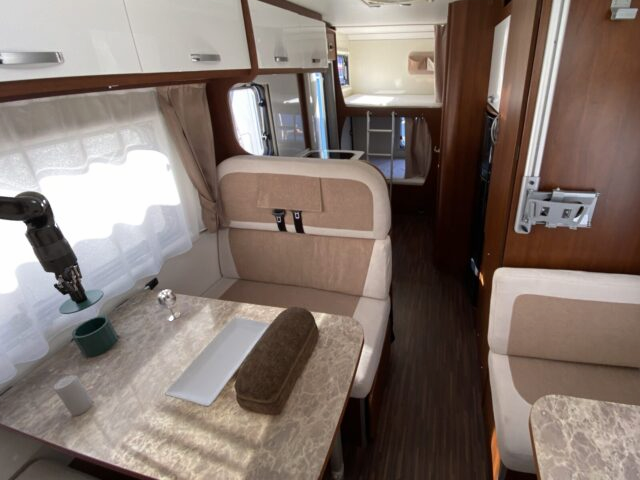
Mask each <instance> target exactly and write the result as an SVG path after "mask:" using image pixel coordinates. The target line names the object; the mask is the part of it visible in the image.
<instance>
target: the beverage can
mask: <svg viewBox="0 0 640 480" xmlns="http://www.w3.org/2000/svg"><path fill="white" fill-rule="evenodd" d="M53 385H54V386H53V389H54V392H55V394H56V395H57V396H58V397H59V399H60V400H61V401H62V403H63V404H64V406H65V407H66V409H67V410H68V412H69V413H70V415H71V416H81V415H82V414H84V413H86V412H87V411H88V410H90V408H91V407H92V405H93V402H94V401H93V399H92V397H91V396H90V393H88V391H87V389H86V387H85V386H84V384H83V383H82V381H81V380H80V378H79V376H77V375H76V374H74V373H73V374H72V373H70V374H68V375H64V376H63V377H61V378H60V379H59V380H58V381H56V382H55V384H53Z"/></svg>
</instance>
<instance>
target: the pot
mask: <svg viewBox="0 0 640 480" xmlns="http://www.w3.org/2000/svg"><path fill="white" fill-rule="evenodd" d="M70 335H71V337H72V339H73V341H74V342H75V345H77V348H78V349H79V351H80V352H81V354H82V355H83V356H84V357H85V358H94V357H97V356H100V355H102V354H104V353H107V352H108V351H109V350H110V349H112V348H113V347H114V346H115V345H116V344H117V343H118V340H119V336H118V333H117V332H116V330H115V328H114V326H113V324H112V322H111V320H110V318H109V316H107V315H99V316H94V317H91V318H89V319H87V320H84V321H83V322H82V323H80V324H79V325H77V326H76V327H75V328H74V329H73V330H72V332H71V334H70Z"/></svg>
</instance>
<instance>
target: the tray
mask: <svg viewBox="0 0 640 480" xmlns="http://www.w3.org/2000/svg"><path fill="white" fill-rule="evenodd" d="M270 324H271V323H269V322H265V321H260V320H256V319H250V318H245V317H240V316H234V317H232V318H231V319H230V321H228V322H227V323H226V325H224V326H223V328H222V329H220V331H219V332H218V333H217V334H216V335H215V336H214V337H213V338H212V340H210V342H208V343H207V344H206V346H205V347H204V348H203V349H202V351H201V352H200V353H199V354H198V355H197V356H196V357H195V358H194V359H193V360H192V362H191V363H190V364H189V365H188V366H187V367H186V368H185V369H184V370H183V371H182V372H181V374H180V375H178V377H177V378H176V379H175V380H174V381H173V383H172V384H171V385H169V387H168V388H167V390H165V391H164V396H166V397H170V398H174V399H178V400H182V401H185V402H188V403H191V404H195V405H198V406H201V407H205V408H209V407H211V406H213V404H214V402H215V401H216V400H217V399H218V397H219V396H220V395H221V394H222V392H223V391H224V389H225V388H226V386H227V385H228V384H229V382H230V381H231V379H232V378H233V377H234V375H235V374H236V373H237V371H238V370H240V368H241V367H242V365H243V364H244V362H245V360H246V359H247V357H248V356H249V354H250V353H251V352H252V350H253V348H254V347H255V345H256V344H257V343H258V342H259V340H260V339H261V337H262V336H263V334H264V333H265V331H266V330H267V328H268V327H269V326H270Z"/></svg>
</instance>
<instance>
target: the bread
mask: <svg viewBox="0 0 640 480" xmlns="http://www.w3.org/2000/svg"><path fill="white" fill-rule="evenodd" d="M319 333H320V332H319V327H318V323H316V319H315V316H314V315H313V313H312V312H311V311H310V310H309V309H307V308H305V307H299V306H290V307H287V308H286V309H284V310H282V311H281V312H280V313H278V314H277V316H276V317H275V318H274V320H273V321H272V322H271V323H270V326H269V327H268V328H267V330H266V331H265V333H264V334H263V336H262V337H261V339H260V340H259V341H258V343H257V344H256V345H255V347H254V348H253V350H252V351H251V352H250V354H249V355H248V356H247V358H246V359H245V361H244V362H243V363H242V365H241V366H240V368H239V372H238V374H237V376H236V378H235V381H234V385H233V386H234V392H235V393H236V394H235V398H236V402H237V404H238V406H239V407H240V408H241V409H243V410H245V411H247V412H250V413H254V414H260V415H264V416H278V415H281V413H282V411H283V409H284V407H285V406H286V403H287V401H288V399H289V398H290V396H291V394H292V392H293V390H294V388H295V386H296V384H297V383H298V380H299V377H300V376H301V374H302V371H303V370H304V368H305V366H306V364H307V362H308V360H309V358H310V356H311V354H312V352H313V349H314V347H315V345H316V343H317V340H318V338H319V335H320V334H319Z"/></svg>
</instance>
